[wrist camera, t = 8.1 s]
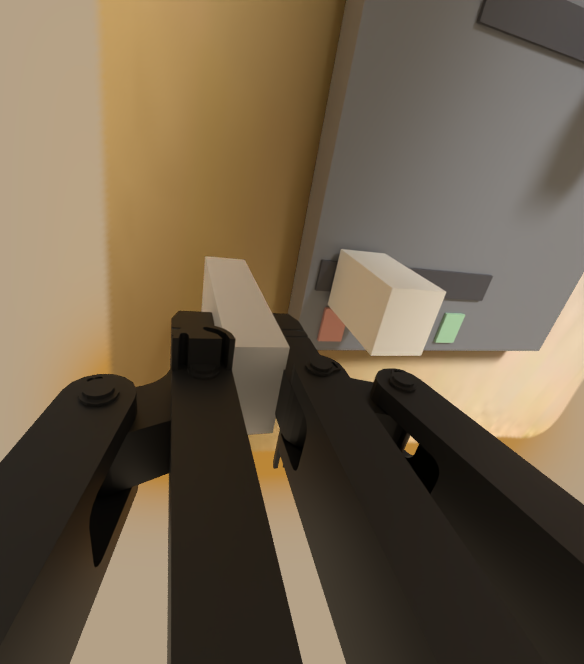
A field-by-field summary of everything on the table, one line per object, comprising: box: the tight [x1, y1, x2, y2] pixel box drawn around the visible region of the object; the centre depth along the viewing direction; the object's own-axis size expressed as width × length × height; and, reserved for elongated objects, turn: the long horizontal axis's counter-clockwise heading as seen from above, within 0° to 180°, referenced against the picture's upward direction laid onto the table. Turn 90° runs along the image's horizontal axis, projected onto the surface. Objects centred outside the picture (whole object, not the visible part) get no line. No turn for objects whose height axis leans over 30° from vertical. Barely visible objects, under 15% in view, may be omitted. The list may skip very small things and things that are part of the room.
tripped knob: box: [328, 249, 446, 356], centre depth 17 cm, size 3×2×5 cm
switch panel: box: [288, 0, 584, 351], centre depth 19 cm, size 21×19×2 cm
